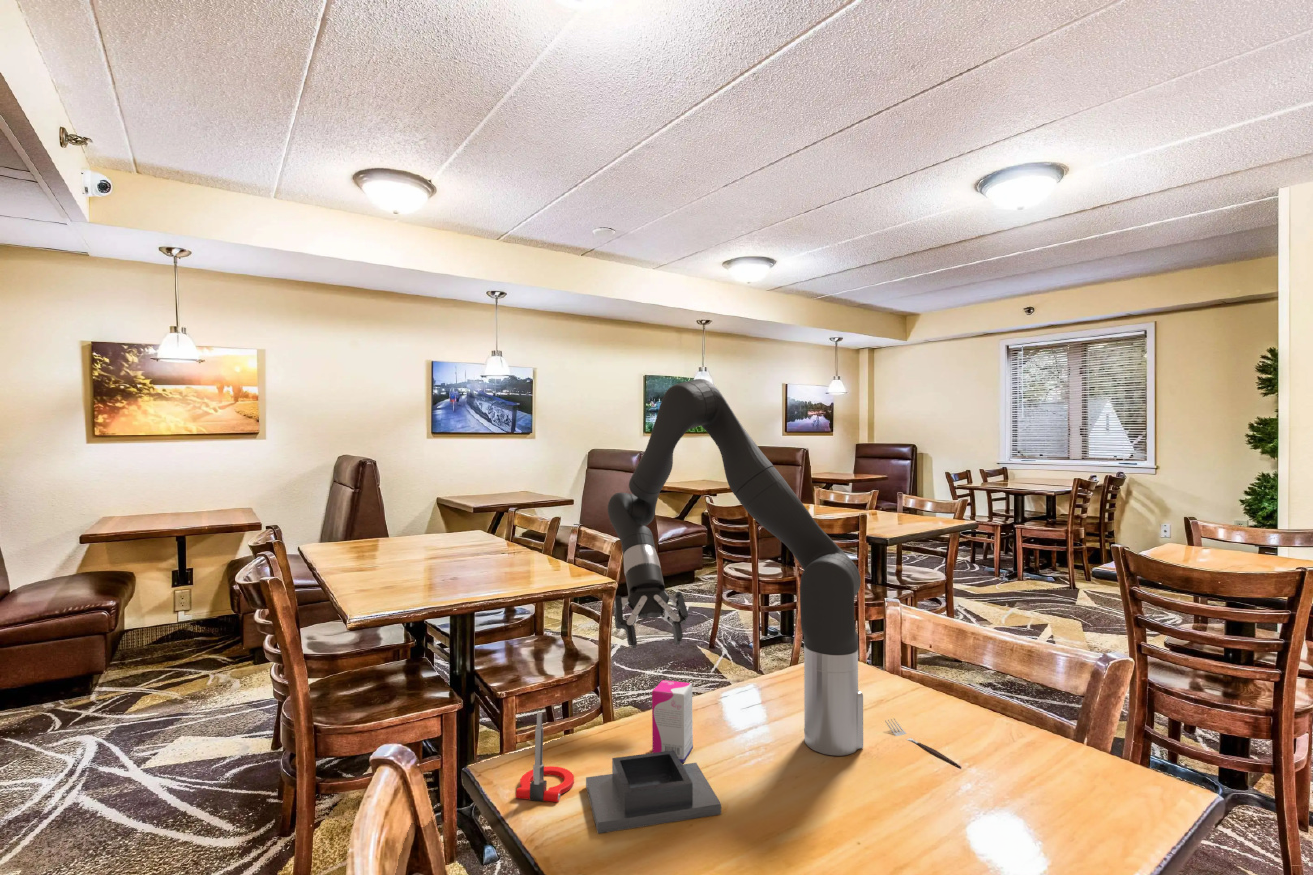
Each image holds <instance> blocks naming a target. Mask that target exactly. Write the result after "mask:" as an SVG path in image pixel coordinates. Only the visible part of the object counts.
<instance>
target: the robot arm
mask: <svg viewBox="0 0 1313 875" xmlns="http://www.w3.org/2000/svg"><path fill="white" fill-rule="evenodd" d="M698 427H701V428H703V429H704V431H705V432H706V433H707V434H708V436H710V438H711V440H713V442H714V443H715V445H716V446H717V448H718V451H719V453H720V456H721V459H722V465H723V468H724V473H725V478H726V481H727V484H728V487H729V489H730V490H731V491H732V493H733V495H734V496H735V498H736V499H737V500H738V501H739V502H738V503H740V504H741V505H742V507H743V508H744V510H745V511H746V512H747V513H748V514H749V515H750V517H752V518H753V520H754V521H755V522H757V523H758V524H759V525H760V526H761V527H763V529H765V530H767V532H769V533H770V534H772V536H774V537H775V538H776V539H777V540H779V541H780V542H781V543H783V545H785V546H786V548H788V550H789V551H790V552H791V554H792V555H793V556H794V557H795V559H796V560H797V561H798V563H799V565H800V566H801V568H802V569H803V571H802V573H801V577H800V584H799V602H800V603H799V605H800V606H799V609H800V628H801V631H802V635H803V655H804V656H803V661H804V662H803V664H804V666H803V667H804V669H803V670H804V671H803V673H804V674H803V675H804V676H803V677H804V678H803V680H804V681H803V682H804V683H803V684H804V688H803V689H804V693H803V694H804V695H803V696H804V698H803V699H804V700H803V701H804V703H803V704H804V707H803V708H804V710H803V712H804V725H803V726H804V727H803V731H804V732H803V733H804V743H805V744H806V746H807V747H809V748H810V749H811V750H813V751H815V752H816V753H817V752H818V753H820V754H823V755H828V756H835V757H837V756H839V757H840V756H848V755H852V754H854V753H855V752H856V751H857V750H859V749H864V694H863V692H862V691H860V690H859V635H858V632H857V631H856V627H855V597H856V596H857V594H858V593H859V591H860V589H861V582H862V579H861V574H860V571H859V568H858V567H857V565H856V564H855V562H854V561H853V560H852V558H850V557H849V555H847V553H845V552H844V551H843V549H841V548H840V547H839V546H838V544H836V542H835V541H834V540H833V539H832V538H831V537H830V536H829V535H828V534H827V533H826V532H825V531H824V530H823V529H822V527H821V526H819V524H818V523H817V521H816V520H815V519H814V518H813V516H812V515H811V514H810V511H809V510H808V509H807V508H806V507H805V504H803V502H802V501H801V500H800V498H799V496H797V494H796V493H795V492H794V490H793V489H792V488H791V486H790V485H789V484H788V481H786V480H785V478H784V477H783V476H782V474H781V473H780V472H779V471H778V469H777V468H776V467H775V466H774V465H773V463H772V462H771V461H770V460H769V459H768V457H767V456H766V455H765V454H764V453H763V452H762V450H761V449H760V448H759V446H758V444H756V442H755V440H753V438H752V437H751V436H750V434H749V433H748V432H747V431H746V429H745V428H744V427H743V425H742V424H741V422H740V421H739V419H738V418H737V416H736V414H735V413H734V411H733V409H732V408H731V407H730V405H729V403H728V402H727V400H726V399H725V397H724V396H723V394H722V393H721V392H720V390H719V389H718V388H717V386H716V385H714V384H713V382H711V381H709V380H706V379H704V378H703V379H702V378H696V379H692V380H687V381H684V382H679V383H675V384H673V385H672V386H670V387H669V388H667V390H666V391H665V393H664V395H663V397H662V399H661V402H660V405H659V407H658V411H657V415H656V417H655V421H654V424H653V427H652V430H651V433H650V436H649V440H648V442H647V445H646V448H645V450H644V452H643V455H642V457H641V459H640V460H639V461H638V464H637V466H636V468H635V470H634V471H633V473H632V475H631V478H630V480H629V482H628V488H629V491H630V492H631V493H630V492H629V493H627V492H616V493H615V494H613V495H612V496H611V497H610V499H609V501H608V504H607V515H608V518H609V521H610V523H611V525H612V527H613V529H614V531H615V533H616V535H617V537H618V539H619V541H620V543H621V551H622V556H623V573H624V576H625V582H626V588H627V594H628V597H622V596H621V595H616V596H615V598H614V602H613V613H614V624H615V628H616V629H617V630H620V629H622V630H625V634H626V639H627V640H626V641H627V645H628V646H629V647H630V646H631V649H632V650H633V649H637V646H638V641H637V640H638V639H637V635H636V629H635V624H637V622H638V620H639V619H640V618H642V619H643V620H647V619H649V618H651V619H658V618H659V617H660V618H661V619H662V620H663V621H665V622H667V623H668V624H670V625H671V626H672V627H671V632H672V637H673V641H674V645H675V646H680V644H681V642H682V640H683V636H684V635H683V629H682V625H685V624H686V623H687V621H688V618H689V613H688V608H687V606H686V602H685V598H684V595H683V593H682V591H677V592H676V594H670V595H669V594H668V593H667V591H666V587H665V583H664V577H663V573H662V571H663V570H662V569H661V568H662V567H661V563H660V559H659V556H658V553H657V551H656V544H655V541H654V534H653V533H652V530H651V529H650V528H649V527H648V525H649V524H651V523H652V521H653V520H654V519H655V514H656V508H657V502H658V500H659V496H660V492H661V491H662V489H663V488H664V485H665V484H666V483H667V481H668V479H669V477H670V476H671V473H672V469H673V464H674V452H675V449H676V446H677V445H678V443H679V441H680V440H681V439H682V437H683V436H684V435H685V434H686V432H688V430H689V431H690V429H691V430H692V429H695V428H698ZM669 602H670V603H671V604H672V605H673V607H675V608H676V612H677V613H676V612H674V610H673V608H672V607H671V606H670V605H669ZM626 605H627V606H628V607H629V608H630V609H631V610H632V612H631V614H630V615H629V617H628V619H624V612H623V610H624V609H625V607H626Z"/></svg>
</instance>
